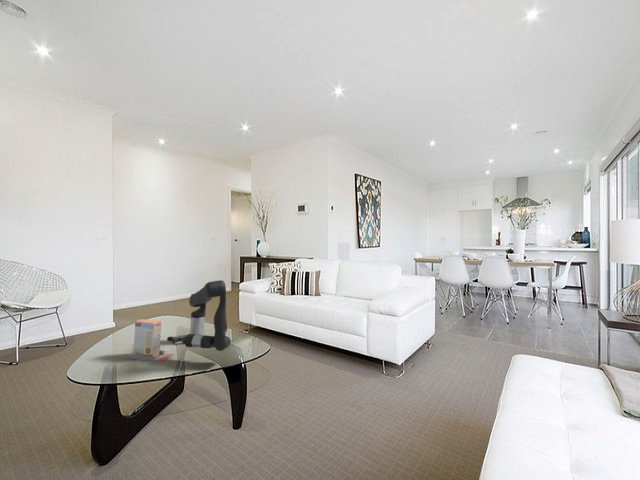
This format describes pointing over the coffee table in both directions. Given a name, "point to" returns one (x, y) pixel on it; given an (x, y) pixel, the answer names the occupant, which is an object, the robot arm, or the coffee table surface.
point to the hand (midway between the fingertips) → (168, 338)
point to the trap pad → (164, 357)
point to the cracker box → (147, 338)
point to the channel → (143, 356)
